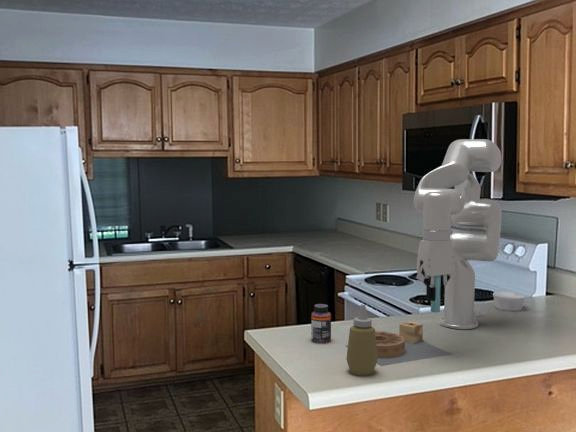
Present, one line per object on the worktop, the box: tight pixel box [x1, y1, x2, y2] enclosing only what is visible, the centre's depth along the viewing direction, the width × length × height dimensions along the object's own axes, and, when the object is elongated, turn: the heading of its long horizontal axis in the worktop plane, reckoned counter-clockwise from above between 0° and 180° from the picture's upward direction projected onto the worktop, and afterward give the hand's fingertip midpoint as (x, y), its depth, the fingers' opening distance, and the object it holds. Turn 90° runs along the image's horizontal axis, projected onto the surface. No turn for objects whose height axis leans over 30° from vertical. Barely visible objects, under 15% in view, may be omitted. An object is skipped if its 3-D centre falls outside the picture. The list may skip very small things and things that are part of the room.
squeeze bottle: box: [345, 304, 377, 376], centre depth 161 cm, size 8×8×18 cm
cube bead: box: [398, 320, 424, 344], centre depth 188 cm, size 5×5×5 cm
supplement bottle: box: [310, 303, 332, 345], centre depth 187 cm, size 6×6×11 cm
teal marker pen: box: [430, 276, 441, 313], centre depth 176 cm, size 3×3×14 cm
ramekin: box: [492, 290, 526, 312], centre depth 230 cm, size 11×11×5 cm
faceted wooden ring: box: [375, 330, 405, 358], centre depth 179 cm, size 14×14×4 cm
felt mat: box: [345, 340, 452, 367], centre depth 179 cm, size 24×19×1 cm
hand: (435, 298), depth 177 cm, fingers closed on teal marker pen, 2 cm apart
